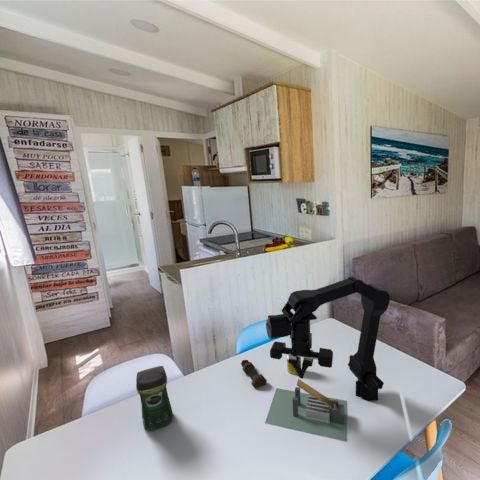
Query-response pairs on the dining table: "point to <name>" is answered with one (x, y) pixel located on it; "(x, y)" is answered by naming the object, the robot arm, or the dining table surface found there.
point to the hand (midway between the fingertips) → (301, 377)
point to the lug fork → (296, 401)
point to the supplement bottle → (291, 367)
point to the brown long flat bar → (316, 394)
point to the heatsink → (317, 411)
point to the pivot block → (337, 413)
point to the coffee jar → (154, 398)
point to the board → (303, 416)
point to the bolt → (253, 374)
